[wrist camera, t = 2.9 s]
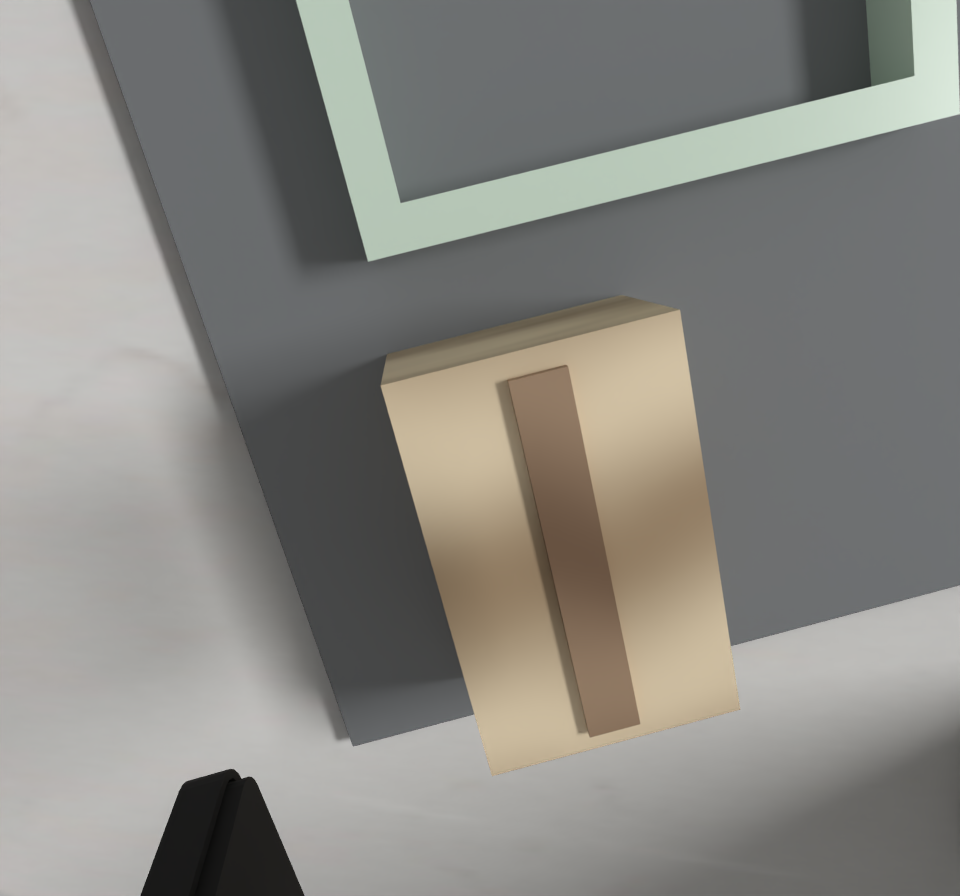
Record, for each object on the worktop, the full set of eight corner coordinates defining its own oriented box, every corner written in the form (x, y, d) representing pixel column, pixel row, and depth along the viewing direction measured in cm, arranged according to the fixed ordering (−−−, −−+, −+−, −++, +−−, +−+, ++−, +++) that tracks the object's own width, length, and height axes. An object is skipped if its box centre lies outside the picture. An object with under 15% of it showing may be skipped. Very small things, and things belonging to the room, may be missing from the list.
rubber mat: (998, 566, 21) (1008, 572, 21) (354, 737, 21) (353, 746, 21) (978, -475, 14) (994, -495, 14) (7, -253, 14) (-5, -267, 13)
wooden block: (677, 621, 20) (744, 715, 16) (476, 675, 20) (492, 781, 16) (621, 295, 18) (683, 311, 14) (386, 353, 17) (379, 387, 13)
